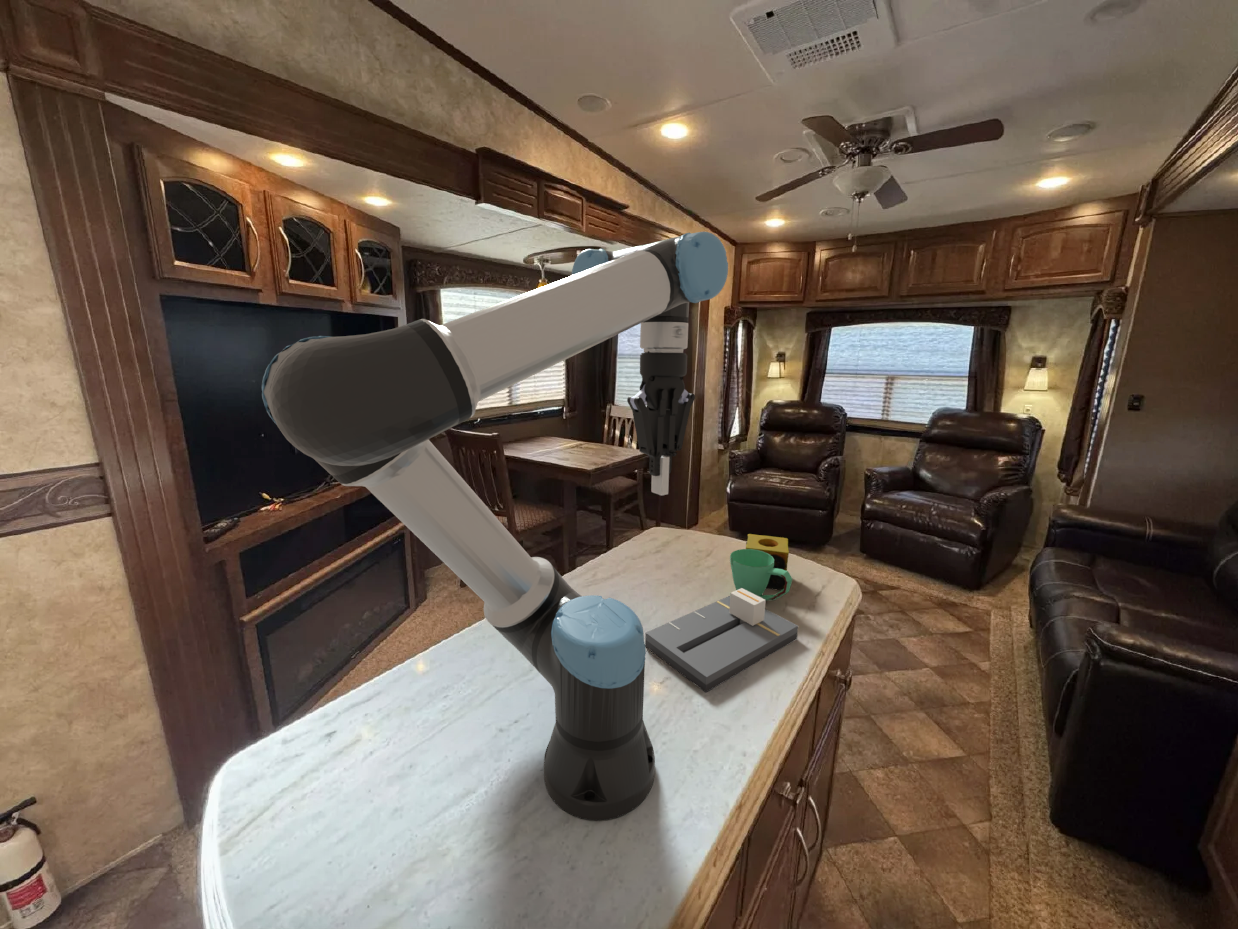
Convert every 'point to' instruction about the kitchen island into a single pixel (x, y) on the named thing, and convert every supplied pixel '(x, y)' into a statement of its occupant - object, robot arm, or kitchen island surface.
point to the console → (717, 643)
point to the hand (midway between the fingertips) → (659, 492)
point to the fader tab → (747, 606)
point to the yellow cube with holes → (777, 550)
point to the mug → (756, 572)
